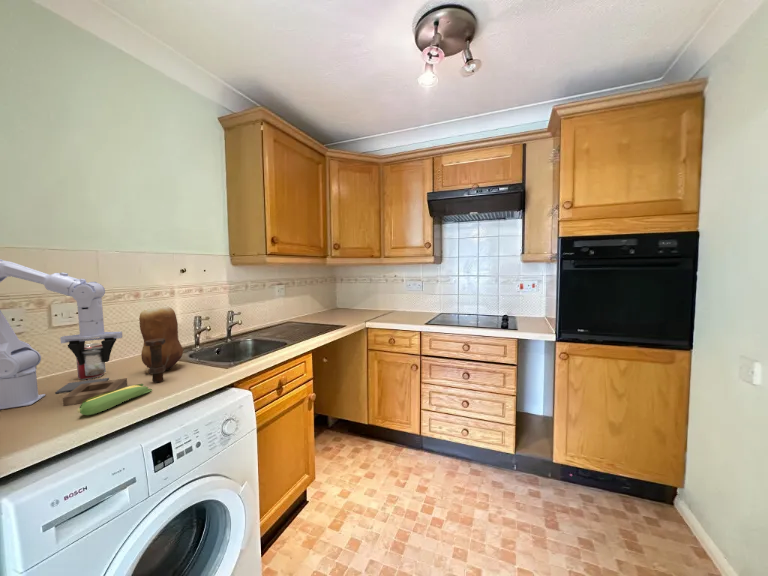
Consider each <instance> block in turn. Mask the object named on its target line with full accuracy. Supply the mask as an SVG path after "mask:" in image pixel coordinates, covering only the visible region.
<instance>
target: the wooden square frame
mask: <svg viewBox="0 0 768 576" xmlns="http://www.w3.org/2000/svg"><path fill="white" fill-rule="evenodd" d="M125 387H128V378H126V377H123V378H119V379H118V378H117V379H109V380H108V381H101V382H94V383H86V384H81V385H79V386H78V387H77V388H75V389H74V390H73V391H71V392H68V393H67V394H66V395H64V396H63V397H62V404H63V407H65V406H72V405H73V404H74V405H79V404H80V405H81V404H82V403H83V402H84V401H85V400H87V399H89V398H92V397H95V396H98V395H101V394H104V393H108V392H111V391H114V390H118V389H122V388H125Z"/></svg>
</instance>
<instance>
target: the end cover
mask: <svg viewBox="0 0 768 576" xmlns="http://www.w3.org/2000/svg"><path fill="white" fill-rule="evenodd" d="M81 352H82V354H84V365H85V375H86V376H94V375H99V374H102V373H104V374H105V373H106V372H107V370H106V362H104V352H103V347H102V346H101V347H92V348H87V349H83V350H81Z"/></svg>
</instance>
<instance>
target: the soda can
mask: <svg viewBox="0 0 768 576" xmlns="http://www.w3.org/2000/svg"><path fill="white" fill-rule="evenodd" d="M101 346H102V344H101V342H99V343H98V342H97V343H96V342H95V343H93V342H92V343H86V344H85V346H84V349H87V348H92V347H101ZM76 370H77V379H78V380H81V381H87V380H86V379H89V380H94V379H98V378H100V376H101V377H103V376H104V375H105V373H102V374H99V375H94V376H86V375H85V365H84V364H83V365H79V362H78V360H77V358H76ZM102 375H103V376H102ZM97 377H98V378H97ZM93 378H94V379H93Z"/></svg>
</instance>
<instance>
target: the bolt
mask: <svg viewBox="0 0 768 576" xmlns="http://www.w3.org/2000/svg"><path fill="white" fill-rule="evenodd" d="M164 343H165V339H162V338H160V339H151V340H147V341H146V342H145V346H150V352H151V366H152V367H150V368H148V373H149V374H151V375H152V376H151V378H152V382H153V383H156V384H158V383H162V382H163V381H164V372H165V371H166V370H165V369H166V367H165V365H162V353H161V348H162V345H163V344H164Z"/></svg>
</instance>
